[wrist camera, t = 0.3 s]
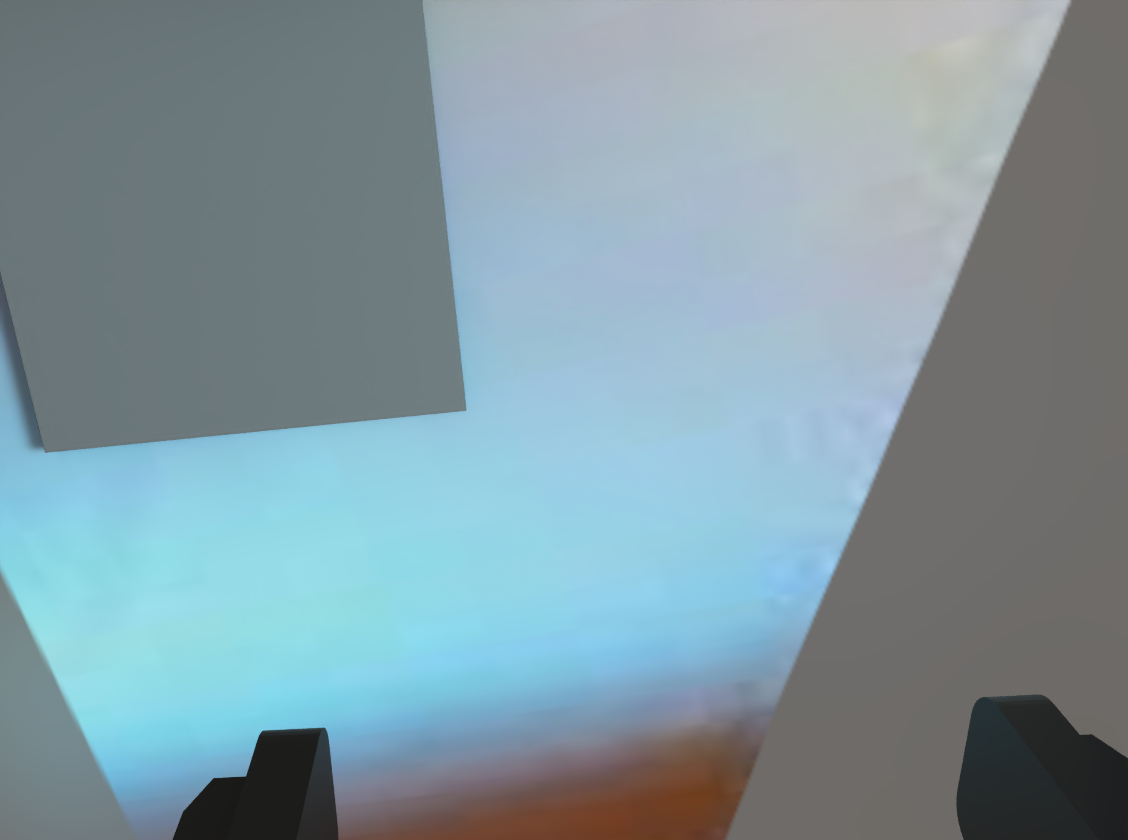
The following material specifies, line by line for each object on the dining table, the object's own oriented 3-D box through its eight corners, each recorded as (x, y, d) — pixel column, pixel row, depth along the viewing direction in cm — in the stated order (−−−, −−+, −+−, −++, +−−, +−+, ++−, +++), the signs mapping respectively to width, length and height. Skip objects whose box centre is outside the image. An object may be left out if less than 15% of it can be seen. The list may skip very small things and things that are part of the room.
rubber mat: (-92, -134, 32) (-102, -138, 32) (404, -162, 34) (403, -166, 33) (51, 447, 39) (44, 452, 38) (465, 406, 40) (465, 410, 39)
